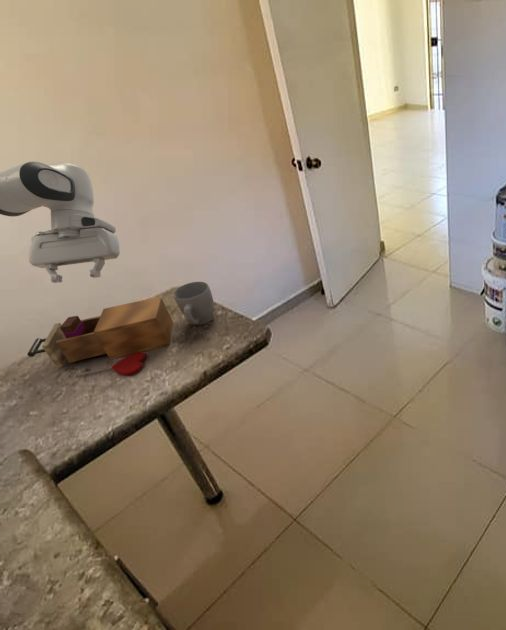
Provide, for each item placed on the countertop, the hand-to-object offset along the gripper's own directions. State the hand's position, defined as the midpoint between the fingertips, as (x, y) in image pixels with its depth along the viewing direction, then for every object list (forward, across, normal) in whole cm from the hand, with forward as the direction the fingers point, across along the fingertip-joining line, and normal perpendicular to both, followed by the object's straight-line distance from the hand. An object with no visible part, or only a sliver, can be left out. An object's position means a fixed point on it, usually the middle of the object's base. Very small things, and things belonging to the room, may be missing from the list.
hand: (76, 279), depth 109 cm
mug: (+14, +25, +11) cm, 31 cm away
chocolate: (+17, 0, +3) cm, 17 cm away
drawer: (+18, -2, +3) cm, 18 cm away
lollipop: (+24, +9, -2) cm, 26 cm away
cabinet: (+17, +12, +6) cm, 21 cm away
